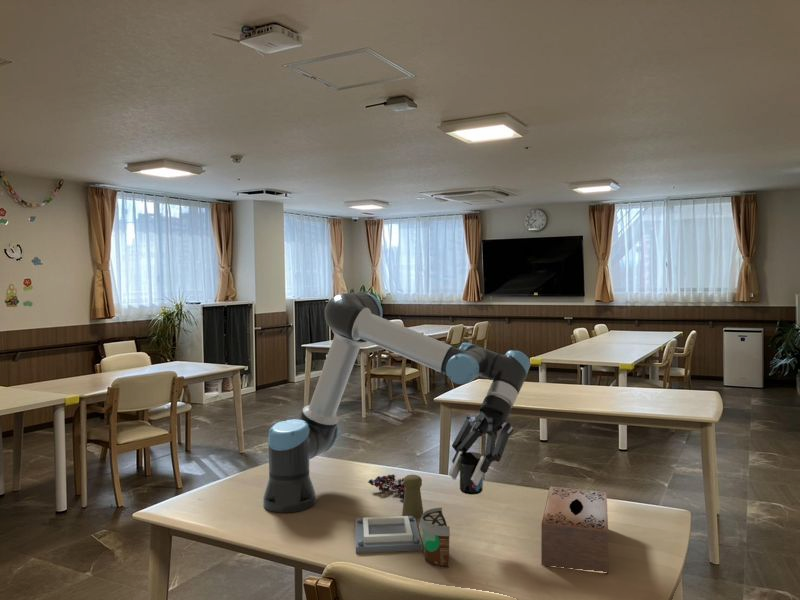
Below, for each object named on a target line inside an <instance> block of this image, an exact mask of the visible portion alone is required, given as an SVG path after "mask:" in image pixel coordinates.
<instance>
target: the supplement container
mask: <svg viewBox="0 0 800 600" xmlns="http://www.w3.org/2000/svg"><path fill="white" fill-rule="evenodd" d="M481 456H483V457H484V454H482V453H480V452H475V451H467V452H465V453H461V454H460V471H459V490H460V492H461V493H462V494H466V495H474V496H475V495H480V494H481V493H482V492H483V491H484V481H483V480H484V474H483V475H482V477H481V480H480V482H479V484H478V486H477V485H475V484H474V483H473V482H472V480H471V478H472V476H473V473H474V471H475V469H476V467H477V465H478V462H479V460H480V458H481Z"/></svg>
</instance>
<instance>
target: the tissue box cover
mask: <svg viewBox="0 0 800 600" xmlns="http://www.w3.org/2000/svg"><path fill="white" fill-rule="evenodd" d="M544 507H545V508H544V511H543V516H542V519H541V552H540V553H541V555H540V557H541V560H540V561H541V562H540V563H541V564H540V565H544V566H543V567H548V566H556V567H564V568H573V569H583V570H594V571H603V572H608V573H609V519H608V517H609V514H608V494H607V491H601V490H590V489H579V488H569V487H560V486H551V485H550V486H549V489H548V493H547V498H546V503H545V506H544ZM556 567H555V568H556Z"/></svg>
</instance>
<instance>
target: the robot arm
mask: <svg viewBox="0 0 800 600" xmlns="http://www.w3.org/2000/svg"><path fill="white" fill-rule="evenodd" d="M324 320H325V321H326V324H327V326H328V327H329V329H331V331H332V333H333V334H334V335H333V339H332V342H331V344H330V347H329V349H328V353H327V355H326V358H325V361H324V363H323V367H322V370H321V371H320V375H319V378H318V380H317V382H316V386H315V389H314V392H313V394H312V398H311V401H310V402H309V404H308V405H306V406H304V407H303V408H302V410H301V413H300V416H299V419H297V418H296V419H294V418H293V419H287V420H282V421H279V422H276V423H275V424H273V425H272V426H271V427H270V428H269V431H268V438H267V444H268V481H267V484H266V487H265V492H264V495H263V503H262V504H263V508H264V509H266V510H267V511H270V512H273V513H283V514H285V513H287V514H288V513H297V512H301V511H305V510H307V509H310V508H312V507H313V506H315V504H316V501H317V495H316V491H315V488H314V484H313V482H312V480H311V476H310V460H312V459H314V458H315V457H317V456H320V455H321V454H323V453H326V452H327V451H328V450H330V449H331V448H332V447H333V446H334V445H335V443H337V439H338V436H339V427H338V423H339V418H338V415H337V412H338V409H339V406H340V403H341V400H342V397H343V395H344V393H345V389H346V388H347V384H348V382H349V379H350V376H351V374H352V373H351V372H352V371H353V368H354V366H355V363H356V360H357V357H358V355H359V352H360V349H361V346H362V345H364V344H366V343H370V344H373V345H375V346H377V347H380V348H382V349H385V350H386V351H389V352H392V353H394V354H396V355H398V356H401V357H402V358H403V357H404V358H406V359H408V360H411V361H412V362H415V363H417V364H420V365H423V366H424V367H427V368H430V369H432V370H434V371H437V372H438V373H441V374H443V375H446V376H447V377H448V378H449V380H450V381H451V382H453V383H455V384H457V385H465V384H469V383H471V382H472V381H474V380H475V379H476V378H478V377H482V378H484V379H487V380H490V381H492V383H490V386H489V388H488V391H487V392H486V394H485V397H484V399H483V402H482V403H481V406H480V409H479V412H478V413H477V414H476V415H475V416H470V415H468V414H467V415H466V416H465V418H464V421H463V422H464V423H463V424H462V427H461V428H460V430H459V431H458V433H457V435H456V438H455V439H454V441H453V442H452V445H451V446H452V448H453V449H454V451H455V454H454V456H453V458H452V461H451V462H452V465H451V468H450V470H449V471H448V475H449V476H450V477H451V478H452V480H457V478H458V475H459V474H460V454H461V453H465V452H469V450H470V449H471V447H472V446H473V445H474V444H475V443H476V441H478V439H479V438H480V437H482V436H483V434H485V435H486V434H487V438H486V444H485V453H483V456H481V458H480V460H479V462H478V465H477V467H476V469H475V471H474V473H473V476H472V478H471V480H472V482H473V483H474V484H475V485H477V486H478V484H479V482H480V480H481V477H482V475H483V476H484V474H487V472H488V470H489V468H490V465H491V463H492V462H499V463H500V461H501V459H502V458H503V457H502V456H503V453H504V451H505V448H506V446H507V444H508V441H509V440H508V439H509V438H510V436H511V434H512V433H513V432H514V430H515V429H514V428H513V426H512V424H511V423H510V422H506V421H507V420H508V418H509V416H510V414H511V412H512V408H513V407H514V405H515V402H516V401H517V397H518V396H519V394H520V391H521V389H522V387H523V385H524V384H525V381H526V379H527V377H528V373H529V370H530V367H531V365H532V364H531V360H530V358H529V357H528V356H527V355H526V354H525V353H524V352H522V351H519V350H507V352H506V353H505V354H500V353H497V352H494V351H492V350H489V349H486V348H484V347H481V346H479V345H477V344H473V343H470V342H463V343H461V344H460V346H459V348H458V347H455V346H453V345H451V344H448V343H446V342H443V341H440V340H438V339H435V338H433V337H430V336H428V335H426V334H423V333H421V332H418V331H416V330H414V329H411V328H409V327H406V326H403V325H401V324H398V323H396V322H394V321H391V320H389V319H386V318H385V317H384V318H383V307H382V305H381V302H380V301H379V299H378V298H377V297H376V296H375V295H374V294H371V293H369V292H364V291H356V292H344V293H339V294H336V295H334V296H333V297H331V298H330V299H329V300H328V301H327V304H326V306H325V308H324ZM499 431H500V433H499ZM498 433H499V436H498ZM496 440H497V441H496Z"/></svg>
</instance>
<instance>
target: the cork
mask: <svg viewBox="0 0 800 600" xmlns="http://www.w3.org/2000/svg"><path fill="white" fill-rule="evenodd" d="M403 478H404V480H403V484H404V487H405V495H404V498H403V504H402V505H403V506H402V511H401V516H408V517H409V516H413V517H414V518H415V520H419V519H421V517H422V514H423V513H424V507H423V500H422V493H421V487H422V484H423V480H422V478H421V476H420V475H417V474H407V475H405V476H404V477H403Z"/></svg>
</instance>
